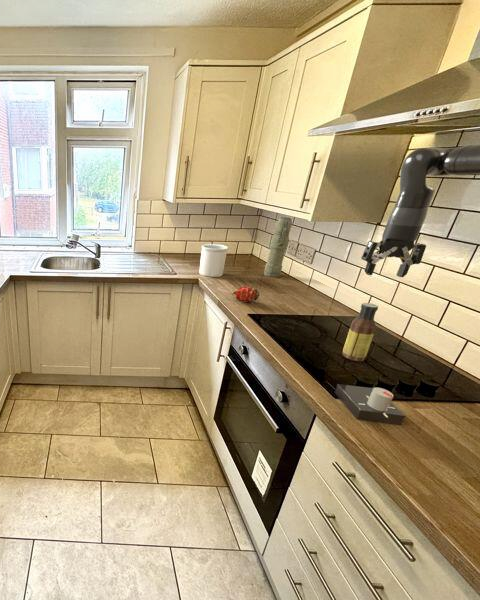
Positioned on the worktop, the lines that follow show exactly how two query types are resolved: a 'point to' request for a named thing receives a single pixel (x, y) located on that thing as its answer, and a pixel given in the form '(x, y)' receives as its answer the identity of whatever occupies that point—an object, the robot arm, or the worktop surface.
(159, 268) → the worktop surface
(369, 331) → the sauce bottle
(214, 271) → the utensil holder
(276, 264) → the grey green carved column
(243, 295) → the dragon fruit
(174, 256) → the worktop surface
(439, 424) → the worktop surface
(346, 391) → the rotary knob panel
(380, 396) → the dial
